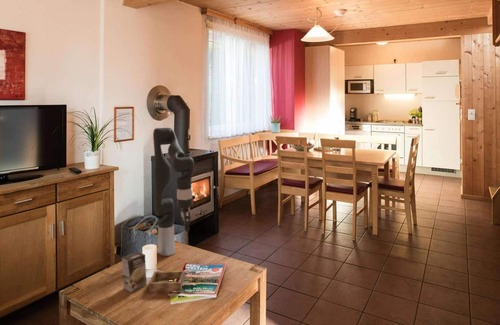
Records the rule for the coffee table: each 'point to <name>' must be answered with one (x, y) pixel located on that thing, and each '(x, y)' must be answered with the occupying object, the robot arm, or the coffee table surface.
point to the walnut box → (166, 281)
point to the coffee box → (134, 271)
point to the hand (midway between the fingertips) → (185, 228)
